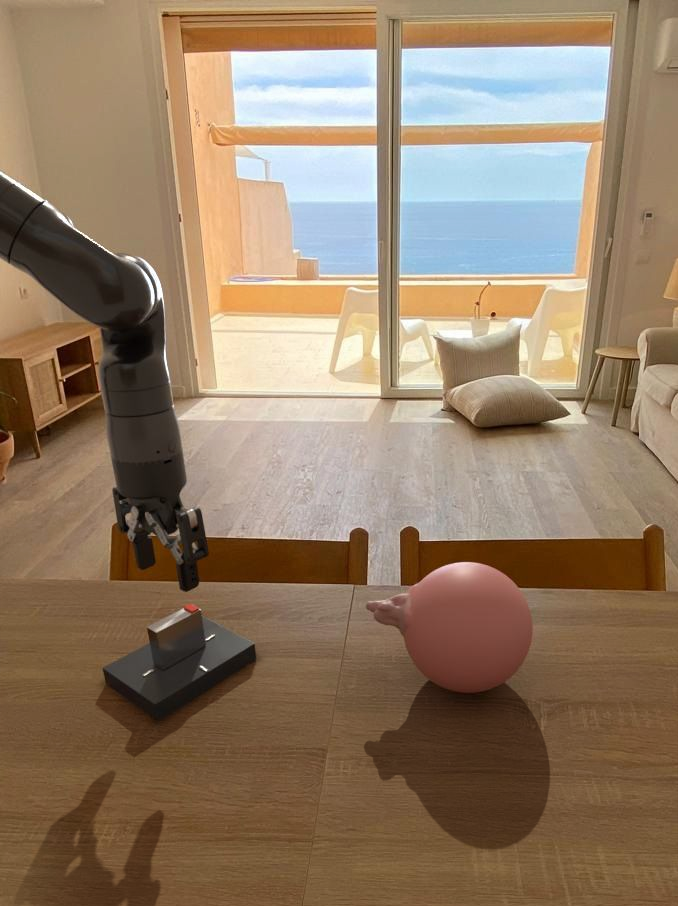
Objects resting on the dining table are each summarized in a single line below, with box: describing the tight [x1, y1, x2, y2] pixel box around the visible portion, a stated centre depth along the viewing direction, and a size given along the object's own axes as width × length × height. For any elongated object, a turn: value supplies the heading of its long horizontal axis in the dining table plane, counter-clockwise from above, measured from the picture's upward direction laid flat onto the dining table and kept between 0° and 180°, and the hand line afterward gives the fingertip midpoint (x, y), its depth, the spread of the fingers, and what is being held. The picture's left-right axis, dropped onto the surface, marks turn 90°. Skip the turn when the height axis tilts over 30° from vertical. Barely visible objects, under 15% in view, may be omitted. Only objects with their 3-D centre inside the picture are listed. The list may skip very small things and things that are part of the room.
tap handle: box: [146, 603, 206, 670], centre depth 86 cm, size 6×2×6 cm, turn 141°
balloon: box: [365, 561, 534, 694], centre depth 84 cm, size 15×20×15 cm
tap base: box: [102, 615, 257, 722], centre depth 88 cm, size 15×11×3 cm
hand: (167, 577), depth 83 cm, fingers open, 8 cm apart
